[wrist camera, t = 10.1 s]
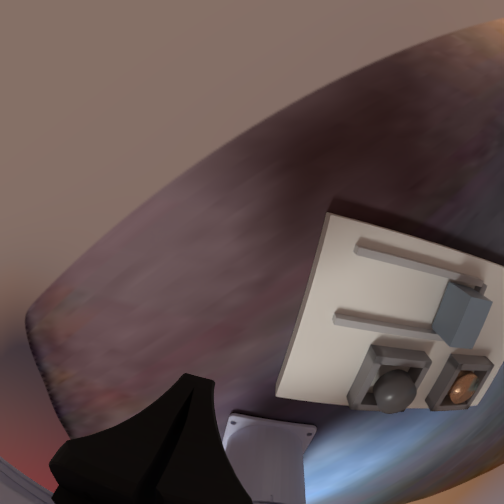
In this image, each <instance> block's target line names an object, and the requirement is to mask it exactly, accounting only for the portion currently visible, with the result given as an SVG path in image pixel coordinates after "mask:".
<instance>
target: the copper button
mask: <svg viewBox="0 0 504 504" xmlns="http://www.w3.org/2000/svg"><path fill="white" fill-rule="evenodd" d="M478 385H479V378H478V377H477V376H476V375H475V374H474V372H473V371H472V370H460V372H459V374H458V376H457V378H456V379H455V381H454V383H453V384H452V386H451V388H450V390H449V391H448V393H447V394H448V396H449V397H450V399H451V400H452V402H453V403H455V404H459V403H462V402H464V401H466V400H467V399H469V398H470V397H471V396H472V395H473V394H474V392H475V391H476V389H477V388H478Z"/></svg>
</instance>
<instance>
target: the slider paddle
mask: <svg viewBox="0 0 504 504" xmlns="http://www.w3.org/2000/svg"><path fill="white" fill-rule="evenodd" d="M492 303H493V302H492V301H491V300H489V299H488V298H486V297H485V296H483V295H482V294H480V293H479V292H477V291H476V290H474V289H473V288H471V287H468V286H464V285H460V284H457V283H453V282H449V283H448V286H447V288H446V291H445V294H444V297H443V299H442V302H441V304H440V307H439V309H438V312H437V314H436V317H435V319H434V322H433V324H432V326H431V327H432V328H433V330H434V331H435V332H436V333H437V334H438V335H439V336H440V337H441V338H442V339H443V340H444V341H445V343H446V344H447V345H448V346H449V347H454V348H465V349H472V348H473V346H474V344H475V342H476V340H477V338H478V336H479V334H480V332H481V329H482V327H483V325H484V322H485V320H486V318H487V315H488V313H489V311H490V308H491V306H492Z"/></svg>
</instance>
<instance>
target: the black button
mask: <svg viewBox="0 0 504 504" xmlns="http://www.w3.org/2000/svg"><path fill="white" fill-rule="evenodd" d="M416 394H417V388H416V386H415V385H414V383H413V381H412V380H411V378H410V376H409V375H408V373H407V372H406V371H404V370H400V369H396V370H392V371H389V372H387V373H385V374H383V375H382V376H381V377H380V378H379V379H378V380H377V381H376V382H375V384H374V386H373V395H374V397H375V400H376V402H377V405H378V408H379V410H380V411H381V412H383V413H387V414H392V413H396V412H399V411H401V410H403V409H405V408H406V407H408V406H409V405H410V404H411V403H412V402H413V400H414V399H415V397H416Z"/></svg>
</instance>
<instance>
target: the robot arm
mask: <svg viewBox="0 0 504 504" xmlns="http://www.w3.org/2000/svg"><path fill="white" fill-rule="evenodd" d="M214 386H215V382H214V381H213V380H210V379H206V378H202V377H198V376H194V375H191V374H187V373H185V374H183V375H182V376H181V377H180V378H179V380H178V381H177V382H176V383H175V384H174V385H173V386H172V387H171V388H170V389H169V390H168V391H167V392H165V393H164V394H163V395H162V396H161V397H160V398H159V399H157V400H156V401H155V402H153V403H152V404H151V405H149V406H148V407H147V408H145V409H144V410H143V411H141V412H140V413H138V414H136V415H135V416H133V417H131V418H130V419H128V420H126V421H124V422H122V423H120V424H118V425H116V426H114V427H111V428H109V429H106V430H104V431H101V432H98V433H95V434H92V435H89V436H85V437H81V438H77V439H72V440H68V441H66V443H64V444H63V445H62V446H61V447H60V449H59V450H58V451H57V452H56V454H55V455H54V457H53V458H52V459H51V461H50V463H49V467H50V470H51V472H52V474H53V476H54V477H55V479H56V481H57V482H58V484H59V486H58V488H57V489H56V491H55V493H52V492H50V491H49V490H47V489H46V488H44V487H42V486H41V485H39V484H38V483H36V482H35V481H33V480H32V479H30V478H29V477H27V476H26V475H24V474H23V473H21V472H20V471H19V470H17V469H16V468H15V467H13V466H12V465H11V464H9V463H8V462H7V461H5V460H4V459H3V458H2V457H0V504H306V500H305V482H304V465H303V454H304V452H305V451H306V449H307V447H308V445H309V444H310V442H311V440H312V438H313V437H314V435H315V433H316V431H317V428H316V426H314V425H306V424H298V423H290V422H283V421H276V420H270V419H264V418H258V417H252V416H247V415H242V414H237V413H232V414H230V415H229V419H228V423H227V426H226V430H225V434H224V438H223V441H221V438H220V434H219V430H218V426H217V421H216V416H215V409H214ZM233 421H235V422H233Z"/></svg>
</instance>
